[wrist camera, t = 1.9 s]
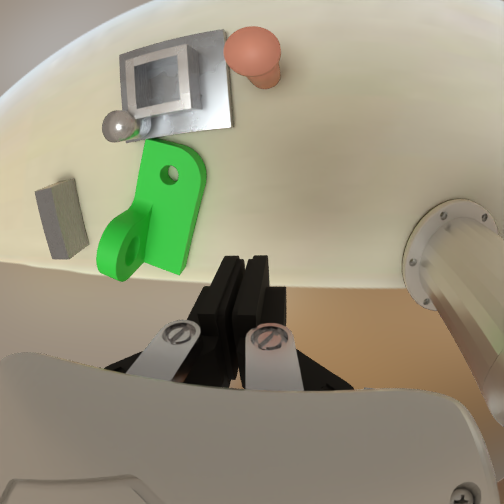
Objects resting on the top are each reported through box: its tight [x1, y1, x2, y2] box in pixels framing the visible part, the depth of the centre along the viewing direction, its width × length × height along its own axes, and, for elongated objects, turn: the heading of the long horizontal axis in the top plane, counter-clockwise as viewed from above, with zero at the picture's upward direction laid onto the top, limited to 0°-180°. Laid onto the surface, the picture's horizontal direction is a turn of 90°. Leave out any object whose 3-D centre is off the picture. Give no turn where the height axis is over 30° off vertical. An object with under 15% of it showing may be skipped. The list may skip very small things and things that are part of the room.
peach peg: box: [224, 26, 281, 89], centre depth 17 cm, size 3×3×9 cm
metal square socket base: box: [102, 29, 234, 143], centre depth 20 cm, size 10×9×5 cm
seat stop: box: [35, 179, 89, 259], centre depth 27 cm, size 3×8×4 cm, turn 4°
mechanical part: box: [96, 138, 207, 282], centre depth 24 cm, size 12×6×8 cm, turn 163°
